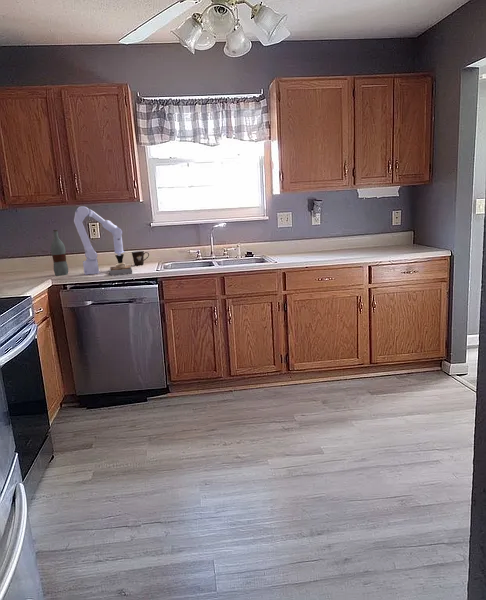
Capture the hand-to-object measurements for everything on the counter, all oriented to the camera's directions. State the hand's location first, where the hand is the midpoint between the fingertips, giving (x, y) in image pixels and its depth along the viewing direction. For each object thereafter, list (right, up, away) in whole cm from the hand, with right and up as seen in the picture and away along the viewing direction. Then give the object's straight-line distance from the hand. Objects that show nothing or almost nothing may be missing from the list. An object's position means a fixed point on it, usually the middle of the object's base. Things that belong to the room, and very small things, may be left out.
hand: (120, 265), depth 317 cm
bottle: (-38, -7, -5) cm, 39 cm away
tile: (+1, -2, -4) cm, 5 cm away
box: (+4, -6, -14) cm, 16 cm away
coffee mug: (+10, +1, +20) cm, 23 cm away
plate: (+1, -4, -3) cm, 5 cm away
